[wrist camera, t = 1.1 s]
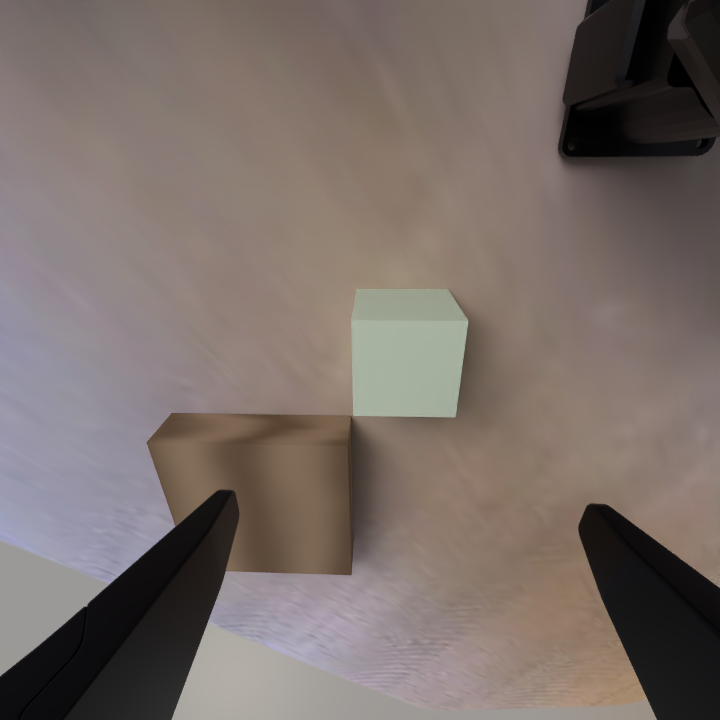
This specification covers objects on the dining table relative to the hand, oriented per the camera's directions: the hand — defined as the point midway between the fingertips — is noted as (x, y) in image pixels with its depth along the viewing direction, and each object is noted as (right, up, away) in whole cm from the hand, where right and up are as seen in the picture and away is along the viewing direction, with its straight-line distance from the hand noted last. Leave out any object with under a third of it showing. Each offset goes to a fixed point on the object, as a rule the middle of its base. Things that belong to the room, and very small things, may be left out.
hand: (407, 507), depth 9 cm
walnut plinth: (-8, -5, +18) cm, 20 cm away
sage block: (+1, +5, +12) cm, 13 cm away
